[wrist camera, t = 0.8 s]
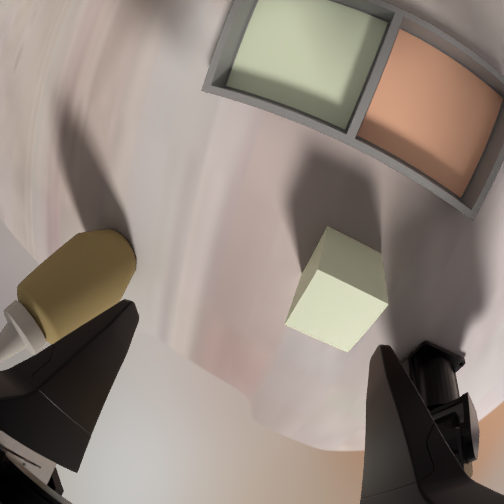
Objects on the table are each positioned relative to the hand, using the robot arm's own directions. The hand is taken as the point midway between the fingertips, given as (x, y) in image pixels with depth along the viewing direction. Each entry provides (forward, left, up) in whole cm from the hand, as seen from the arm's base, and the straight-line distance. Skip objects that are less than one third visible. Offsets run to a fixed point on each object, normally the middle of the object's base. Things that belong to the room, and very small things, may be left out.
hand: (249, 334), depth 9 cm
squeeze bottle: (+16, +12, -12) cm, 24 cm away
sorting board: (0, -11, -12) cm, 16 cm away
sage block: (-4, +2, -12) cm, 13 cm away
